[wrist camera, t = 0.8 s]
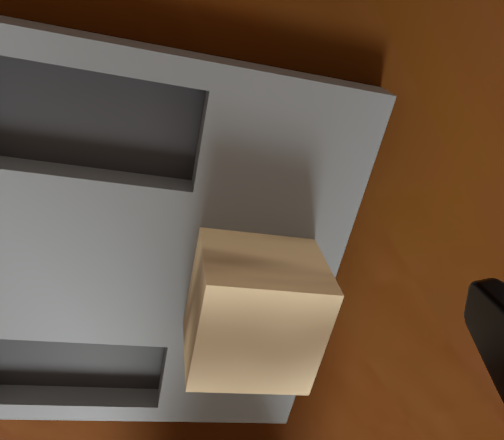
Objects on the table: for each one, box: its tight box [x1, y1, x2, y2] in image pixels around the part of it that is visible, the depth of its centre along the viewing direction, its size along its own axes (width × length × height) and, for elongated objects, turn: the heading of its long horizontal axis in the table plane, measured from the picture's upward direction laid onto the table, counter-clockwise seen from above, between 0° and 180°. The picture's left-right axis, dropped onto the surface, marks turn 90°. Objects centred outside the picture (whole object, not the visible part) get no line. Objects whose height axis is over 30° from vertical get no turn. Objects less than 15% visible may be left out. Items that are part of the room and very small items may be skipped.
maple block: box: [183, 227, 344, 395], centre depth 20 cm, size 5×5×4 cm
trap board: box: [0, 15, 397, 423], centre depth 20 cm, size 18×22×2 cm
